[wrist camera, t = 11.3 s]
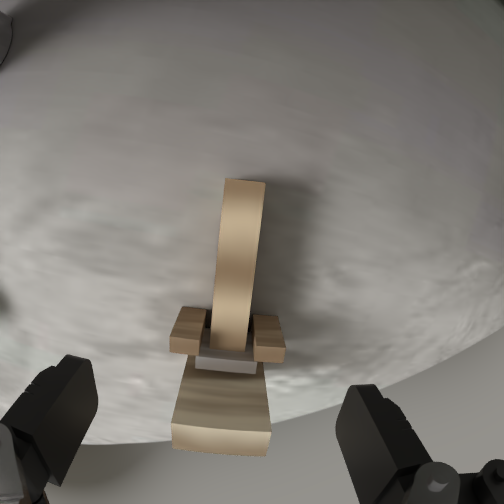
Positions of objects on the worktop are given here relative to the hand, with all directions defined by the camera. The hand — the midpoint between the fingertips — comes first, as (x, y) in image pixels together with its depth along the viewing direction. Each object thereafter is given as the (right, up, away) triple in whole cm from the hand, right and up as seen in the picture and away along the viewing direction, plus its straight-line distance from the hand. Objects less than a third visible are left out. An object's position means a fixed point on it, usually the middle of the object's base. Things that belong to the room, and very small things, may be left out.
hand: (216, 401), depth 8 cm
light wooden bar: (0, +4, +20) cm, 20 cm away
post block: (-1, -5, +22) cm, 22 cm away
